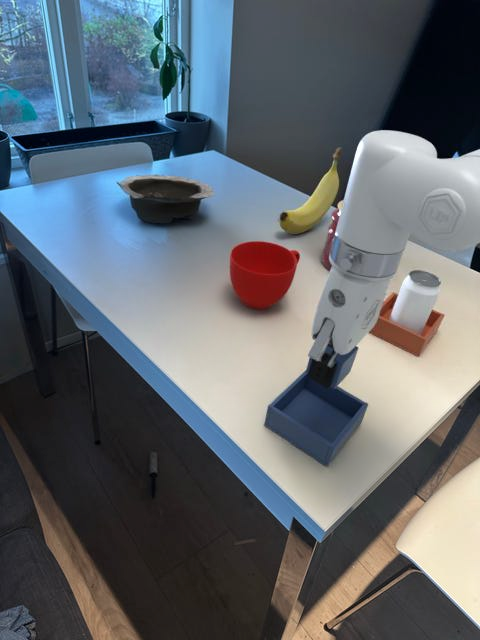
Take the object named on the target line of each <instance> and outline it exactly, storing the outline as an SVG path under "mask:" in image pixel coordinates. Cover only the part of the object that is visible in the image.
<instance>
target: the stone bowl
mask: <svg viewBox="0 0 480 640" xmlns="http://www.w3.org/2000/svg"><path fill="white" fill-rule="evenodd" d="M116 184H117V185H118V186H119V188H120V189H121V190H122V191H123V192H124V193H125V194H126V195H128V196H129V199H130V206H131V208H132V209H133V210H134V212H135V213H136V217H137V218H138V219H139V220H141V221H144V222H147V223H151V224H157V223H160V224H169V223H171V222H172V221H173V220H174V218H175V219H185V220H192V219H194V218H195V217H196V215H197V214H198V211H199V208H200V205H201V201H202V200H204V199H207V198H211V197H213V196H214V195H215V193H214V191H213V188H212V187H211V186H210V185H209V184H207V183H206V182H202V181H200V180H196V179H191V178H187V177H182V176H176V175H164V174H143V175H142V174H139V175H132V176H128V177H126V178H125V179H123V180H121V181H116Z"/></svg>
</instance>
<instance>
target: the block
mask: <svg viewBox="0 0 480 640" xmlns="http://www.w3.org/2000/svg"><path fill="white" fill-rule="evenodd" d="M331 339H332V337H331ZM332 351H333V349H332V348H331V347H329V346H327V347H326V349H325V352H326V353H328V354H329V355H330V356H331V354H332ZM358 351H359V347H358V346H357V345H356V346H355V347H354V348H353V349H352V350H351V351H350V352H349V353H347V354H344V355H340V354H338V357H337V359H336V362H335V364H337V367H336V371H335V374H334V377H333V380H332V383H331V385H330V387H332V388H333V389H335V388H336V387H337V386H338V387H339V385H340V384H341V383H342V382H343V381H344V379H346V378H347V376H348V375H349V374H350V373H351V371H352V368H353V365H354V363H355V359H356V357H357V354H358ZM311 362H312V358H311V357H308V362H307V365H306V369H305V370H306V373H308V372H309V369H310V365H311Z"/></svg>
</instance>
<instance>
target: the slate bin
mask: <svg viewBox="0 0 480 640" xmlns="http://www.w3.org/2000/svg"><path fill="white" fill-rule="evenodd" d="M369 406H370V405H369V403H367V402H366V401H364V400H363V399H360V398H358V397H357V396H355V395H353V394H352V393H350V392H348V391H346V390H345V389H343V388H341V387H339V385H338V386H337V387H336V388H335V389H333V388H332V387H329V388H326V387H324V386H322V385H320V384H319V383H317V382H315V381H314V380H312V379H310V378H309V377H308V373H306V369H305V370H304V371H303V372H302V373H301V374H299V376H298V377H296V379H294V380H293V381H292V382H291V384H289V385H288V386H287V387H286V388H285V389H284V390H283V391H281V393H280V394H279V395H278V396H277V397H276V398H275V399H274V400H273V401H271V402H270V404H268V405H267V409H266V413H265V419H264V424H263V426H265V427H266V428H268V429H269V430H271V431H273V432H274V433H275V434H277V435H278V436H279V437H281V438H283V439H284V440H286V441H287V442H289V443H290V444H292V445H293V446H294V447H296V448H297V449H299V450H301V451H302V452H303V453H305V454H307V455H308V456H309V457H311V458H312V459H313V460H315V461H317V462H318V463H320V464H322V466H325V468H329V466H330V465H331V464H332V462H333V460H334V459H335V458H336V457H337V455H338V454H339V453H340V451H341V450H342V449H343V447H344V446H345V445H346V443H347V442H348V441H349V440H350V438H351V437H352V436H353V434H354V433H355V432H356V431H357V429H358V428H359V426H360V425H361V424H362V422H363V419H364V417H365V414H366V412H367V410H368V407H369Z"/></svg>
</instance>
